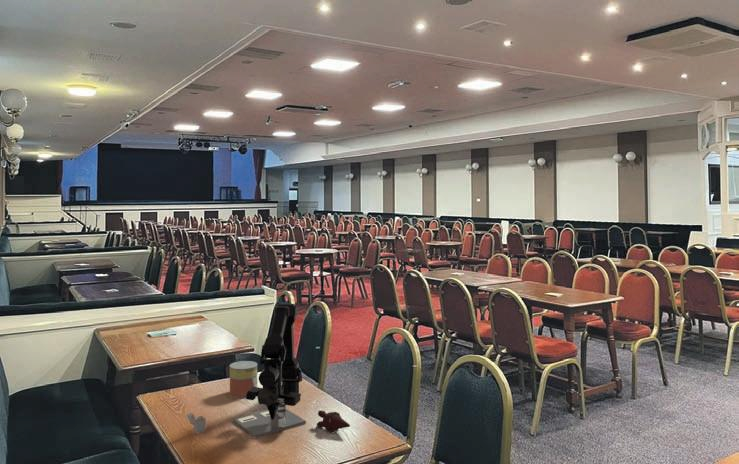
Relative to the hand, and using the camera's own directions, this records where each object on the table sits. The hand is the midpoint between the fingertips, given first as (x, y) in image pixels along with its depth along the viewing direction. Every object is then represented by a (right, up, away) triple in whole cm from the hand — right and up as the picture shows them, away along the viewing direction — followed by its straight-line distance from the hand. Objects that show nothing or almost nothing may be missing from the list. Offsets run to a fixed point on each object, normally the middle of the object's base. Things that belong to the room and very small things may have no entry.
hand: (272, 419), depth 198 cm
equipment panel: (-2, -2, +3) cm, 4 cm away
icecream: (+22, -3, -4) cm, 22 cm away
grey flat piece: (-25, -3, -7) cm, 26 cm away
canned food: (-18, 0, +32) cm, 37 cm away
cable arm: (+3, 0, +4) cm, 5 cm away
